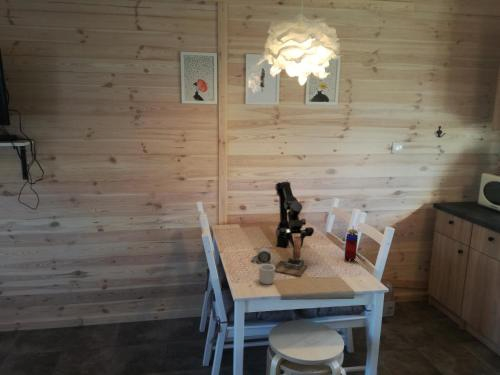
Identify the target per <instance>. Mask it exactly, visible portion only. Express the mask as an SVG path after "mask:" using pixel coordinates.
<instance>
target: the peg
mask: <svg viewBox="0 0 500 375" xmlns="http://www.w3.org/2000/svg"><path fill="white" fill-rule="evenodd" d="M293 242H294V247H293V246H292V258H293V259H298V260H301V252H302V251H301V250H302V249H301V248H302V247H301V237H300V236H294V237H293Z"/></svg>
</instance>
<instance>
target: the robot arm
mask: <svg viewBox="0 0 500 375" xmlns="http://www.w3.org/2000/svg"><path fill="white" fill-rule="evenodd" d="M274 188H275V191H276V192H275V193H276V195H277V196H278V197H279V200H278V201H279V222H278V224H277V227H276V230H275V236H276V246H275V247H277V248H283V249H286V248H288V247H289V246H290V245H291V247H292V248H293V247H294V237H293V234H294V235H297V234H299V237H301V248H303V243H304V239H305V238H306V237H311V236H313V235H314V232H315V230H314V228H313V227H307V226H306V224H307V221H306V220H307V219H306V218H301V219H300V214H301V212H302V209H303V205H302V203H301V202H299V201H298V198H297V197H296V196H294V194H293V190H292V187H291V182H290V181H281V182H277V183H276V184H275V187H274ZM303 226H306V227H305V228H304V229H302V228H303Z"/></svg>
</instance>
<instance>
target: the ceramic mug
mask: <svg viewBox="0 0 500 375" xmlns="http://www.w3.org/2000/svg"><path fill="white" fill-rule="evenodd" d="M271 260H272V252H271V250H270V249H269V248H268V247H265V246H264V247H261V248H259V249H258V251H257V254H255V255H253V256H252V257H251V261H252V262H254V263H256V262H258V263H259V264H260V265H261V264H270V262H271Z"/></svg>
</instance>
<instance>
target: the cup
mask: <svg viewBox="0 0 500 375" xmlns="http://www.w3.org/2000/svg"><path fill="white" fill-rule="evenodd" d="M275 266H276V265H273V264H272V263H267V264H261V263H260V264H259V266H258V275H259V281H260V283H261V284H263V285H271V284H273V282H274V278H275V273H276V272H275Z"/></svg>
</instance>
